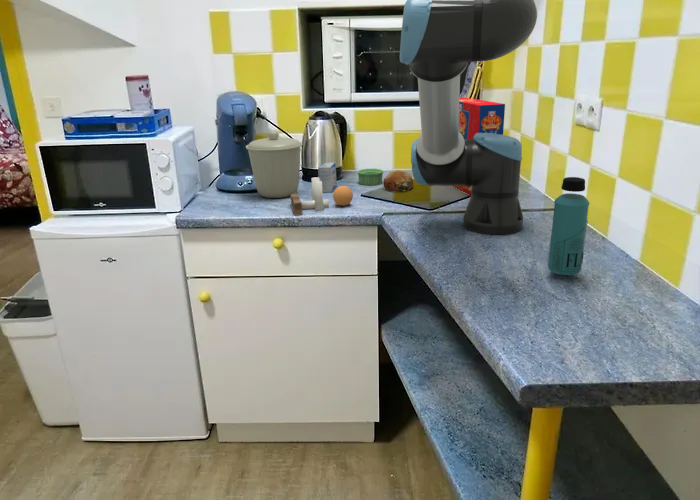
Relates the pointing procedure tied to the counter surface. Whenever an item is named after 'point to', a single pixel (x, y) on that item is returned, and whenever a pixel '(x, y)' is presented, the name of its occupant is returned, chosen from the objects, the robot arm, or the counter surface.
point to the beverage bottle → (568, 229)
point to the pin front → (313, 204)
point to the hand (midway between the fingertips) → (446, 121)
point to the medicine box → (327, 177)
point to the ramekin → (370, 176)
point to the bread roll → (398, 181)
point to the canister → (275, 165)
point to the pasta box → (479, 121)
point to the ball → (342, 195)
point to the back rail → (296, 204)
